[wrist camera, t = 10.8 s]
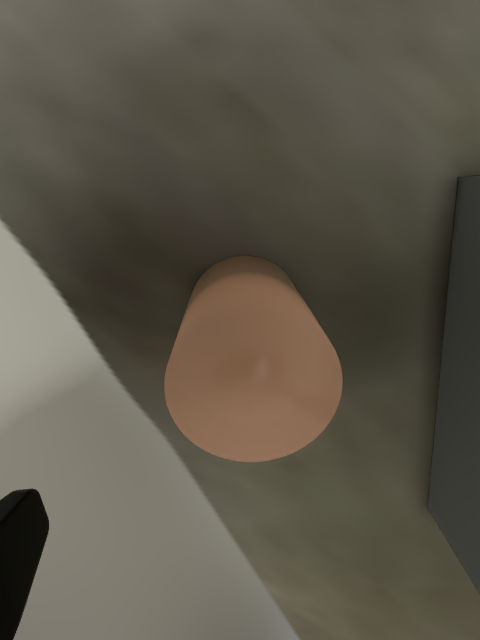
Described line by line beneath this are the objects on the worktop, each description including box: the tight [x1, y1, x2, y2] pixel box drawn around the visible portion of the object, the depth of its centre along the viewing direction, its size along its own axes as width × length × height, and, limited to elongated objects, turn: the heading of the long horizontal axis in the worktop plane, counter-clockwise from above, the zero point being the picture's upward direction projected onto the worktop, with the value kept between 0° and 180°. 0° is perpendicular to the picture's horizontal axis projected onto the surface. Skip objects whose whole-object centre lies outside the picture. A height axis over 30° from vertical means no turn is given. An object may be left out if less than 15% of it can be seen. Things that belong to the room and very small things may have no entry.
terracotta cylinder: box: [164, 256, 343, 462], centre depth 14 cm, size 5×5×7 cm
